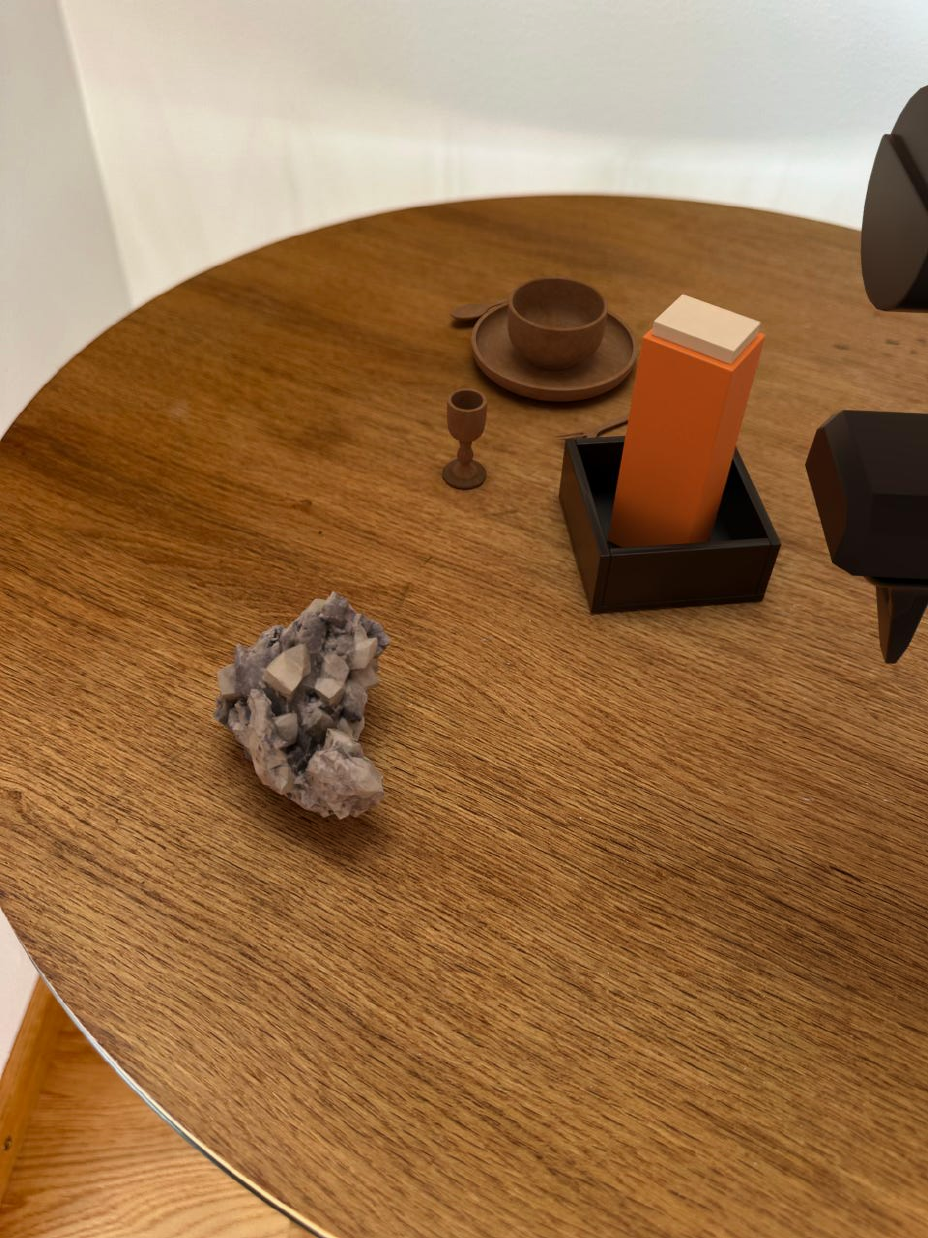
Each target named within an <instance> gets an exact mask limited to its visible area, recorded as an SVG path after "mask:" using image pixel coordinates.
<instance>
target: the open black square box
mask: <svg viewBox="0 0 928 1238" xmlns="http://www.w3.org/2000/svg"><path fill="white" fill-rule="evenodd" d="M625 437H626V435H616V436H615V435H613V436H597V437H594V438H586V437H580V438H575V439H566V440H564V442H565V443H564V448H563V455H562V456H563V457H562V465H561V473H560V480H559V488H558V489H559V490H558V499H559V503H560V507H561V510H562V511H561V512H562V514H563V518H564V521H565V525H566V528H567V533H568V536H569V540H570V543H571V546H572V550H573V554H574V558H575V561H576V565H577V569H578V573H579V576H580V579H581V583H582V587H583V591H584V594H585V598H586V601H587V605H588V609H589V612H590V614H593V615H594V614H604V613H606V614H607V613H618V612H619V613H620V612H632V611H645V610H646V611H647V610H648V611H649V610H658V609H659V610H660V609H673V608H687V607H697V606H698V607H702V606H712V605H713V606H715V605H726V604H728V605H729V604H740V603H741V604H742V603H755V602H762V601H764V597H765V595H766V591H767V588H768V586H769V582H770V580H771V578H772V575H773V572H774V568H775V565H776V563H777V559H778V556H779V553H780V550H781V547H782V541H781V539H780V538H779V535H778V533H777V530H776V529H775V527H774V525H773V522H772V520H771V517H770V515H769V513H768V511H767V510H766V507H765V505H764V503H763V501H762V499H761V496H760V494H759V492H758V490H757V488H756V486H755V483H754V482H753V479H752V477H751V475H750V473H749V471H748V469H747V467H746V464H745V462H744V460H743V458H742V455H741V454H740V451H739V449H738V447H737V446H736V447H735V450H734V454H733V458H732V462H731V465H730V469H729V473H728V476H727V480H726V484H725V487H724V491H723V495H722V499H721V502H720V506H719V510H718V513H717V517H716V521H715V524H714V528H713V532H712V536H711V538H710V540H709V541H708V542H700V543H685V544H671V545H656V546H641V547H626V548H622V547H620V546H617V545H615V544H613V543H611V542H609V541H608V535H609V529H610V523H611V518H612V512H613V506H614V500H615V494H616V489H617V483H618V477H619V471H620V466H621V460H622V454H623V448H624V443H625Z"/></svg>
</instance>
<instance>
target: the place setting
mask: <svg viewBox="0 0 928 1238" xmlns="http://www.w3.org/2000/svg"><path fill="white" fill-rule="evenodd" d="M450 316H451V318H453V319H454V320H458V321H473V320H477V319H478V320H477V321H476V323H475V324H474V326H473V329H472V332H471V336H470V338H471V339H470V342H471V344H470V345H471V352H472V355H473V358H474V360H475V362H476V364H477V366H478V368H479V369H480V370H481V371H482V373H483V374H484V375H485V376H486V377H487V378H488V379H490V381H492V382H493V383H494V384H496V385H498V386H499V387H502V388H503V389H505V390H506V391H509V392H510V393H513V394H516V395H519V396H522V397H524V398H528V399H532V400H538V401H545V402H554V403H555V402H562V403H563V402H564V403H565V402H575V401H581V400H582V401H583V400H587V399H591V398H595V397H597V396H600V395H603V394H605V393H607V392H609V391H611V390H612V389H614V388H616V387H617V386H619V385H620V384H621V383H622V382H624V380H626V379H627V377H628V376H629V374H630V373H631V372H632V370H633V368H634V366H635V365H636V360H637V356H638V352H639V344H638V339H637V337H636V335H635V333H634V331H633V329H632V328H631V327H630V326H629V325H628V323H627V322H626V321H625V320H623V319H622V318H621V317H620V316H619V315H617V314H615V313H613V312H612V311H611V310H609V302H608V300H607V298H606V296H605V295H604V294H603V292H601V291H600V290H599V288H596V287H595V286H594V285H591V284H590V283H587V282H585V281H583V280H579V279H577V278H573V277H567V276H559V275H558V276H555V275H553V276H551V275H550V276H539V277H534V278H532V279H528V280H526V281H524V282H521V283H519V285H517V286H516V287H514V288H513V290H512V291H511V292H510V294H509V296H508V297H506V298H502V299H498V300H495V301H491V302H486V303H485V302H484V303H465V304H460V305H458V306H456V307H455V308H454V309H452V311H451V312H450ZM446 399H447V400H446V424H447V430H448V432H449V434H450V436H451V437H452V438H453V439H455V441H458V445H459V448H458V449H457V452H456V459H454V460H451V461H450V462H448V463H447V464H446V465H445V466H444V467H443V470H442V477H443V480H444V481H445V482H446V483H447V484H448V485H449V486H452V487H453V488H457V489H461V490H468V489H473V488H476V487H479V486H480V485H482V484H483V483H484V482H485V480H486V478H487V469H486V468H485V466H484V465H483V464H481V463H480V462H479V461H477V460H474V457H475V455H474V451H473V449H472V445H473V442H476V441H477V440H478V439H480V437H481V436H482V435H483V434H484V430H485V428H486V424H487V423H486V422H487V415H488V413H487V412H488V398H487V396H486V394H484V392H482V391H481V390H479V389H476V388H472V387H471V388H470V387H461V388H457V389H455V390H452V391H451V392H450V393H449V394H448V395H447V398H446ZM629 414H630V413H628V414H625V415H622V416H620V417H617V418H615V419H613V420H609V421H608V422H605V423H603V424H600V425H598V426H596V427H594V428H593V429H584V430H580V431H576V432H571V433H564V434H557V435H555V436H554V438H558V439H557V441H561V444H565V440H566V439H576V438H594V437H598V435H599V434H600V433H601V432H603V431H605V430H608V429H611V428H614V427H616V426H618V425H620V424H621V425H622V424H624V423H627V422H628V419H629Z"/></svg>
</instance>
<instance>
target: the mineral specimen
mask: <svg viewBox="0 0 928 1238" xmlns="http://www.w3.org/2000/svg"><path fill="white" fill-rule="evenodd" d="M392 641H393V640H392V639H391V637H390V635H388V633H387V632H386V630H385V629H384V627H383V626H382V624H380V623H379V622H377V621H376V620H374V619H371V618H369V617H368V616H366V615H364V614H363V613H358V612H357V611H356V610H355V609H354V608H353V607H352V605H351V604H350V603H349V599H348V598H346V597H344V596H342V595H340V594H338V593H337V592H335V591H334V590H332V591H331V593H330V595H329V596H327V598H326V599H322V598H315V599H313V600H312V602H311V603H310V604H309V605H308V606H307V607H306V608H305V609H304V610H302V611H301V613H300V615H299V616H297V618H296V619H294V620H293V621H292V622H291V623H290V624H289V625H288V626H284V625H282V624H276V625H275V624H274V625H271V626H270V628H267V630H265V631H262V632H261V633H260V635H259V638H258V640H257V642H255V643H254V644H252V646H250V647H248V648H246V647H245V646H243V645H242V644H240V643H237V645H236V646H235V648H234V653H233V655H234V656H233V663H231V664H228V665H226V666H224V667H222V668H220V669H219V670H217V671H216V675H217V685H218V689H219V691H220V693H219V695H218V696H217V697H215V703H214V705H215V707H216V709H214V710H213V711H212V712H211V713H210V716H212V717H213V718H214V719H215V720H216V722H219V723H220V724H222V725H223V726H224V727H225V728H227V730H228V731H230V732H232V733H233V735H234V736H235V737H234V739H235V740H236V741H237V742H238V743H240V744H241V745H242V748H243V751H244V752H243V753H244V755H245V759H246V760H247V761H250V762H252V763H253V767H254V770H255V773H256V775H257V776H258V779H259V780H260V781H261V783H262V785H264V786H269V788H270V789H271V790H273V792H275V793H277V794H279V795H281V796H283V795H284V796H285V797H287V798H288V799H289V800H290V801H292V802H294V803H296V804H297V805H299V806H300V807H301V808H302V809H304V810H306V811H310V812H316V813H319V815H320V816H321V817H322V818H323V819H325V818H327V817H329V816H332V815H335V816H336V817H337V818H338V820H342V819H344V818H347V817H349V816H350V817H353V818H358V817H359V816H361V815H363V814H364V813H365V812H367V811H368V810H371V809H373V808H376V807H378V806H380V805H381V803H382V801H383V800H384V797H386V794H387V793H386V791H384V788H383V786H384V785H383V780H384V776H383V775H382V773H381V772H380V771H379V770H378V768H377V767H376V766H375V764H374V763H373V762H372V760H371V759H370V758H368V757H367V756H365V755H364V749H363V747H362V745H361V743H360V742H359V739H360V735H361V733H362V732H363V731H364V729H365V710H366V704H367V702H368V701H369V700H368V697H369V695H368V692H370V691H371V690H373V689H374V688H378V687H379V685H380V680H379V677H378V676H377V673H379V671H380V668H379V663H378V659H379V657H380V656H381V655H382V654H383V653H384V652H385V650H386V649H387V648H388V646H389V645H390V643H391V642H392Z"/></svg>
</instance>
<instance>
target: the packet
mask: <svg viewBox="0 0 928 1238" xmlns="http://www.w3.org/2000/svg"><path fill="white" fill-rule="evenodd" d="M761 324H762V323H761V321H758V320H757V319H753V318H750V317H747V316H745V315H742V314H739V313H737V312H734V311H731V310H729V309H725V308H722V307H720V306H717V305H714V304H712V303H709V302H706V301H703V300H701V299H697V298H694V297H692V296H689V295H686V294H684V293H682V294H681V295H680V296H679V297H678V298H677V299H675V300H674V301H673V302H672V304H671V305H669V306H668V307H667V308H665V310H664V311H663V312H662V313H661V314H660V315H659V316H657V318H656V319H654V320H653V324H652V328H650V329H649V330H648V331H647V332H646V333H645V334H644V335H643V336H642V339H641V343H640V344H641V345H640V351H639V355H638V361H637V366H636V367H637V369H636V374H635V378H634V379H635V380H634V386H633V391H632V398H631V403H630V408H629V413H628V414H629V419H628V421H627V425H626V431H625V436H626V437H625V443H624V448H623V454H622V460H621V466H620V471H619V477H618V483H617V489H616V494H615V500H614V506H613V512H612V518H611V523H610V529H609V535H608V541H609V542H611V543H613V544H615V545H617V546H620V547H622V548H626V547H641V546H656V545H671V544H685V543H700V542H708V541H709V540H710V538H711V536H712V532H713V528H714V524H715V521H716V517H717V513H718V510H719V506H720V502H721V499H722V495H723V491H724V487H725V484H726V480H727V476H728V473H729V469H730V465H731V462H732V458H733V454H734V450H735V447H737V443H738V439H739V435H740V431H741V428H742V424H743V421H744V418H745V417H744V416H745V413H746V410H747V405H748V402H749V399H750V394H751V390H752V387H753V383H754V379H755V376H756V372H757V369H758V365H759V361H760V358H761V354H762V350H763V346H764V343H765V338H766V334H764V333H762V332H760V329H761Z"/></svg>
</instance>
